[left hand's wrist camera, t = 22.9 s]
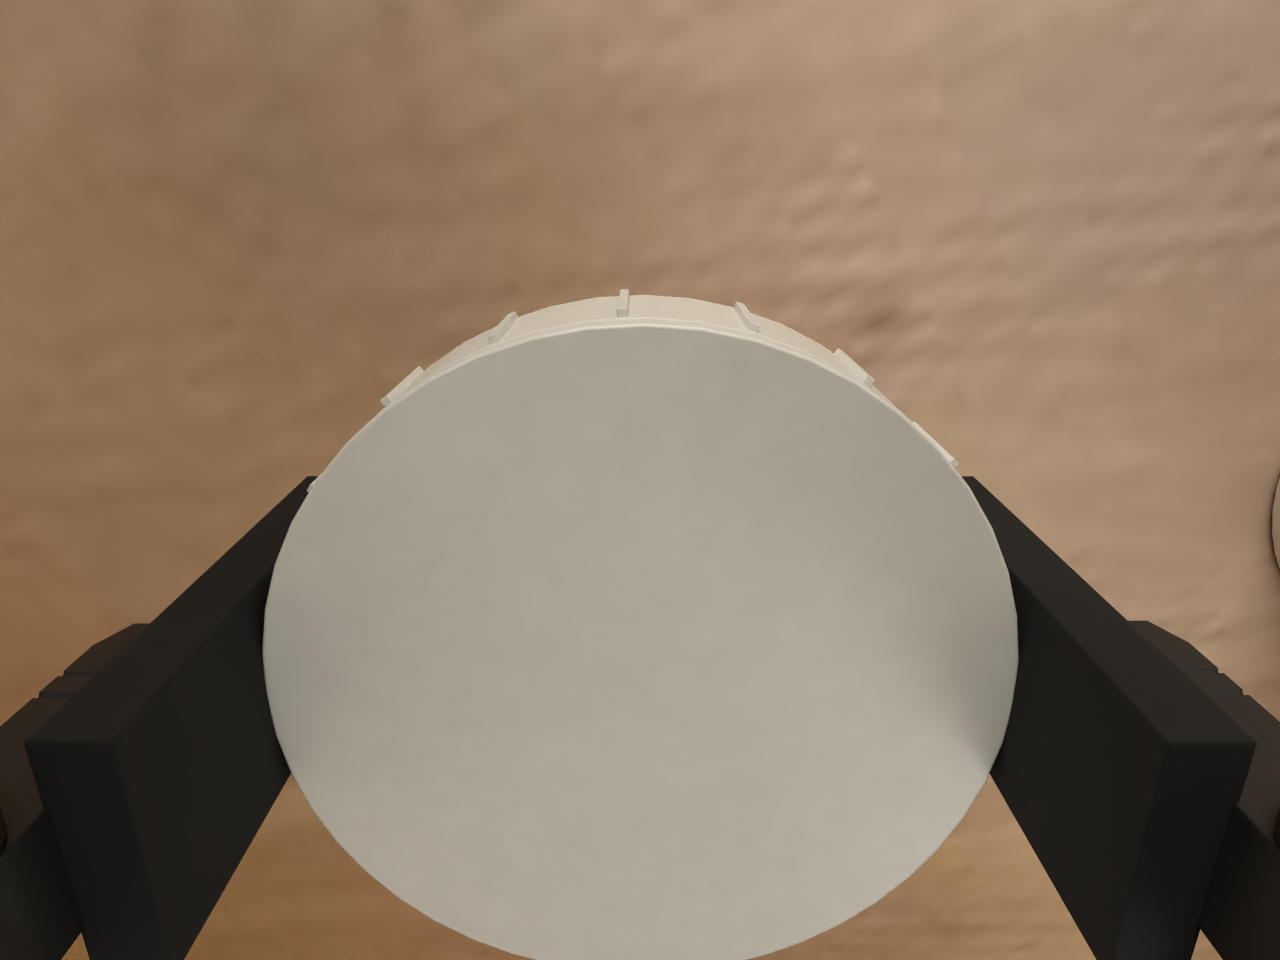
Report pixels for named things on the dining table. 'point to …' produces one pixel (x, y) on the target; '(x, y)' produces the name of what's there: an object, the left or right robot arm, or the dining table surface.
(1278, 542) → the jar
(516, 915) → the lid
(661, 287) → the dining table surface
